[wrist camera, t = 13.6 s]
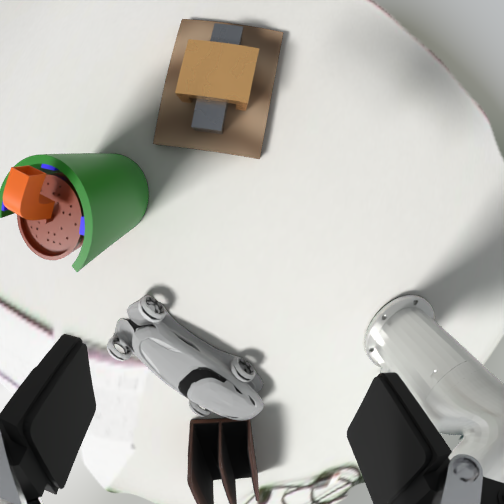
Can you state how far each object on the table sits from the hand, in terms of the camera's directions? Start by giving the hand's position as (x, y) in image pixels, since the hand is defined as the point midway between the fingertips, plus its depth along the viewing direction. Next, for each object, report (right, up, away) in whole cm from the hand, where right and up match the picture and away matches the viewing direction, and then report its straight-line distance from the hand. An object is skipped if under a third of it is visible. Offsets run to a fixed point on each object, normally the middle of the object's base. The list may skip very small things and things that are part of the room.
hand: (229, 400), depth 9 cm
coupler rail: (-3, +23, +21) cm, 31 cm away
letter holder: (-4, -32, +39) cm, 50 cm away
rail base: (-3, +24, +22) cm, 33 cm away
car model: (-8, -11, +33) cm, 36 cm away
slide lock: (-3, +23, +21) cm, 31 cm away
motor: (-16, +12, +25) cm, 32 cm away
